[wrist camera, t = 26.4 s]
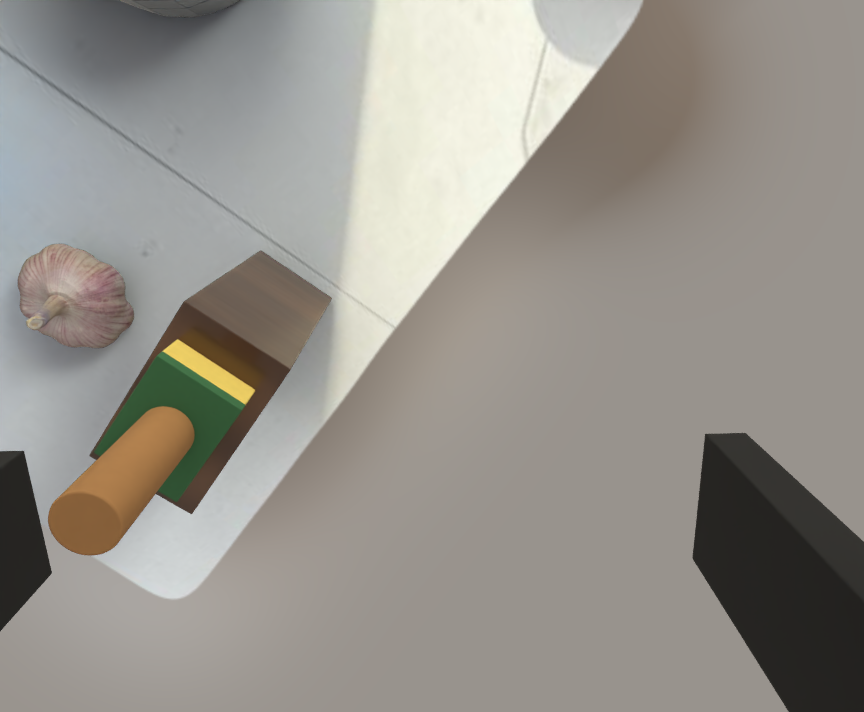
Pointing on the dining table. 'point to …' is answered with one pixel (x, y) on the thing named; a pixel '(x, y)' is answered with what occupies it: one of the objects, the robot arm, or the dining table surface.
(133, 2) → the bowl
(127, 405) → the sponge
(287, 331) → the stand
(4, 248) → the dining table surface
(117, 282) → the garlic bulb
